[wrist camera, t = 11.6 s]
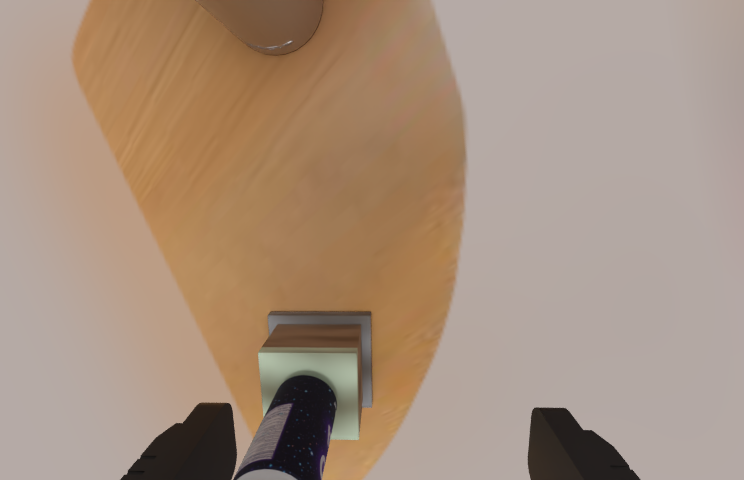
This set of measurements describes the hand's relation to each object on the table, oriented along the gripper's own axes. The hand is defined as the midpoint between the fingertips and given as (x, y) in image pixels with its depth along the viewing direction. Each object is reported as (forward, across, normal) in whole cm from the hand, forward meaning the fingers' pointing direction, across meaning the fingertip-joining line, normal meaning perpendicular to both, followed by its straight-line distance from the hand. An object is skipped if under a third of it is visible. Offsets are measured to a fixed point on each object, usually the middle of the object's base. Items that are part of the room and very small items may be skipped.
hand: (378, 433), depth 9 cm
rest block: (+28, +7, +14) cm, 32 cm away
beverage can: (+21, +7, +14) cm, 26 cm away
